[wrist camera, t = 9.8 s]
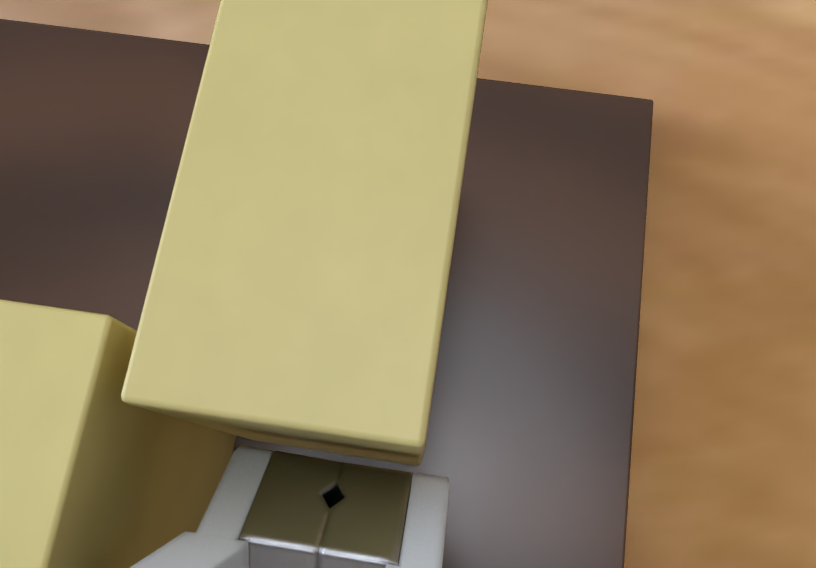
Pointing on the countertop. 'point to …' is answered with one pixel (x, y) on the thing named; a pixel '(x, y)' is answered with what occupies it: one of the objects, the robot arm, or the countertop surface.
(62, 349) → the butter block
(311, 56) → the butter slice
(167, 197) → the butter board
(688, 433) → the countertop surface
